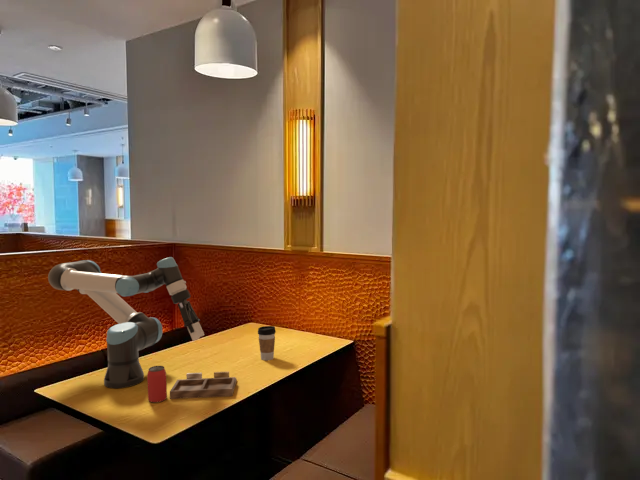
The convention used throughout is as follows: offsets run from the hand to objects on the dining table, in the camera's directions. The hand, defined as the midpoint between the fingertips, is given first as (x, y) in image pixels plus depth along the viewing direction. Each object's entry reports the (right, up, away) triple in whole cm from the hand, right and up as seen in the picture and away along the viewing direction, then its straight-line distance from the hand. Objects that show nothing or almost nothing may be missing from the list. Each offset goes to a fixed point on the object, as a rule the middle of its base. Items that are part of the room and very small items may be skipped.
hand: (199, 338), depth 189 cm
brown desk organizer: (+6, -17, -14) cm, 23 cm away
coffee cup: (+26, -15, +22) cm, 37 cm away
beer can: (-9, -18, -22) cm, 30 cm away
